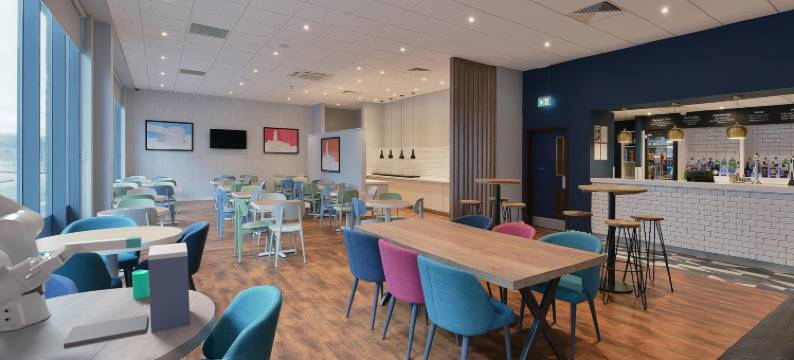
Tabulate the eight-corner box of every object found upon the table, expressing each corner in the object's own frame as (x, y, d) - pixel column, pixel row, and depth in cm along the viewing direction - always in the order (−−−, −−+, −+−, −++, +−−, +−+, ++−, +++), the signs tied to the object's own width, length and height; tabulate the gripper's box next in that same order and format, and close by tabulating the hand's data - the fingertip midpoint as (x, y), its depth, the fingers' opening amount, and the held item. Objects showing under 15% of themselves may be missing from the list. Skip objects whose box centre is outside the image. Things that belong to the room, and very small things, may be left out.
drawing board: (63, 347, 124) (63, 343, 124) (73, 330, 136) (73, 326, 136) (146, 332, 134) (145, 328, 134) (148, 317, 146) (147, 314, 146)
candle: (131, 296, 168) (129, 268, 167) (147, 292, 172) (146, 265, 172) (135, 300, 164) (133, 271, 163) (151, 296, 168) (150, 268, 167)
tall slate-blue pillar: (151, 332, 134) (148, 255, 132) (153, 315, 148) (150, 246, 146) (189, 325, 140) (187, 251, 138) (188, 309, 154) (185, 242, 152)
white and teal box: (65, 254, 126) (65, 244, 126) (68, 251, 130) (67, 242, 129) (140, 247, 136) (140, 238, 136) (141, 245, 139) (141, 236, 139)
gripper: (14, 272, 114) (67, 244, 120) (36, 256, 132) (81, 232, 138) (30, 289, 116) (81, 260, 122) (49, 271, 134) (93, 247, 139)
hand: (81, 245), depth 130 cm, fingers closed on white and teal box, 3 cm apart
